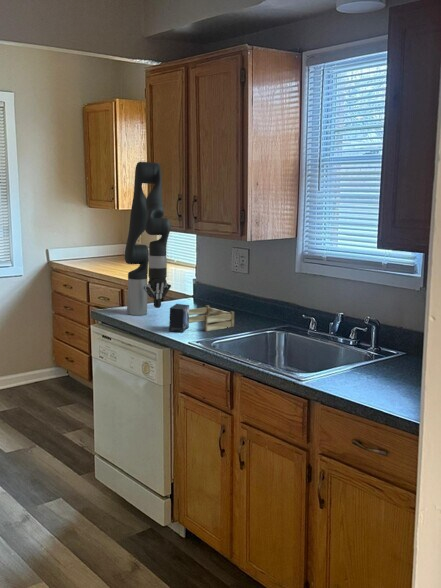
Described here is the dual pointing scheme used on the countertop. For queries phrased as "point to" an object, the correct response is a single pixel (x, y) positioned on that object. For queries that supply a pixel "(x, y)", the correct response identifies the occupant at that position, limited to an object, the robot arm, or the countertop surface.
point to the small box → (179, 318)
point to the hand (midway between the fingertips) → (157, 307)
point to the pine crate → (212, 318)
